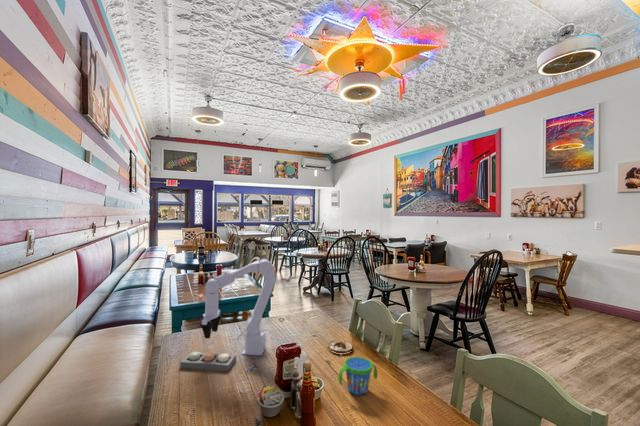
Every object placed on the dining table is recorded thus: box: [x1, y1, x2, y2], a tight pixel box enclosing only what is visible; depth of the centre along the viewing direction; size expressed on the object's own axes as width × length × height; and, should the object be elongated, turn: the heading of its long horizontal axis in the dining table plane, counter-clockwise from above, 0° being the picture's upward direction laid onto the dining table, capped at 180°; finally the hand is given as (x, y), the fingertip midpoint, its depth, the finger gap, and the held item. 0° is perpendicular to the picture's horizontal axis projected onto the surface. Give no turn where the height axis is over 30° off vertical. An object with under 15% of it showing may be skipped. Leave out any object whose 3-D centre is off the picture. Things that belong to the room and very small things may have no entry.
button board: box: [179, 351, 237, 372], centre depth 127 cm, size 21×9×2 cm, turn 85°
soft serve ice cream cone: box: [293, 343, 308, 377], centre depth 113 cm, size 8×8×16 cm
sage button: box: [188, 351, 201, 361], centre depth 128 cm, size 4×4×2 cm
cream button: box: [218, 353, 229, 363], centre depth 126 cm, size 4×4×2 cm
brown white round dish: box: [327, 340, 354, 353], centre depth 144 cm, size 15×15×4 cm
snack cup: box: [337, 356, 378, 396], centre depth 111 cm, size 16×10×10 cm
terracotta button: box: [204, 352, 215, 362], centre depth 127 cm, size 4×4×2 cm
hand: (211, 334), depth 135 cm, fingers open, 7 cm apart
